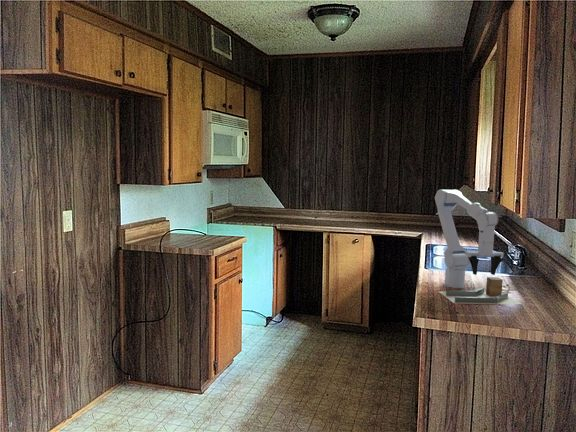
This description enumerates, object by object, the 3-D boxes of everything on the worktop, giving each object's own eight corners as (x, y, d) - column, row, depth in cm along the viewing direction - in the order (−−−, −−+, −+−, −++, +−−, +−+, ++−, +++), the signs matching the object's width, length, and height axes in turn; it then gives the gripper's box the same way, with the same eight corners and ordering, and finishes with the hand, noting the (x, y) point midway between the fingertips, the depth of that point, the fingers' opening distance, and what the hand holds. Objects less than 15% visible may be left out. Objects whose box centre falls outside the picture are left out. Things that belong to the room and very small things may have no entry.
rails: (441, 291, 210) (441, 287, 210) (499, 292, 211) (499, 287, 211) (455, 302, 194) (456, 297, 194) (518, 303, 195) (518, 298, 195)
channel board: (438, 292, 211) (438, 291, 211) (500, 293, 212) (501, 291, 212) (454, 304, 193) (454, 303, 193) (522, 305, 194) (522, 303, 194)
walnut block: (485, 293, 209) (487, 276, 208) (496, 293, 209) (497, 277, 208) (490, 296, 204) (491, 279, 204) (501, 296, 205) (502, 279, 204)
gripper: (472, 243, 199) (470, 276, 201) (508, 243, 200) (505, 276, 202) (465, 240, 206) (463, 272, 208) (499, 240, 207) (497, 272, 209)
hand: (483, 274), depth 205 cm, fingers open, 7 cm apart
